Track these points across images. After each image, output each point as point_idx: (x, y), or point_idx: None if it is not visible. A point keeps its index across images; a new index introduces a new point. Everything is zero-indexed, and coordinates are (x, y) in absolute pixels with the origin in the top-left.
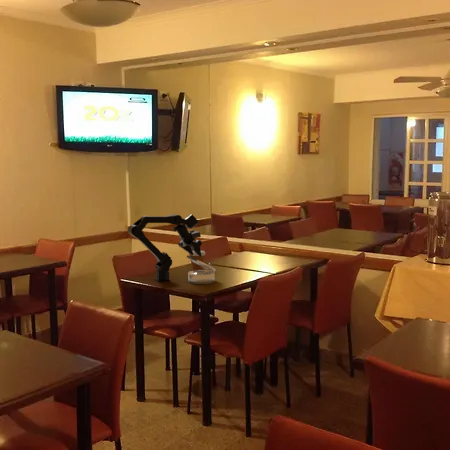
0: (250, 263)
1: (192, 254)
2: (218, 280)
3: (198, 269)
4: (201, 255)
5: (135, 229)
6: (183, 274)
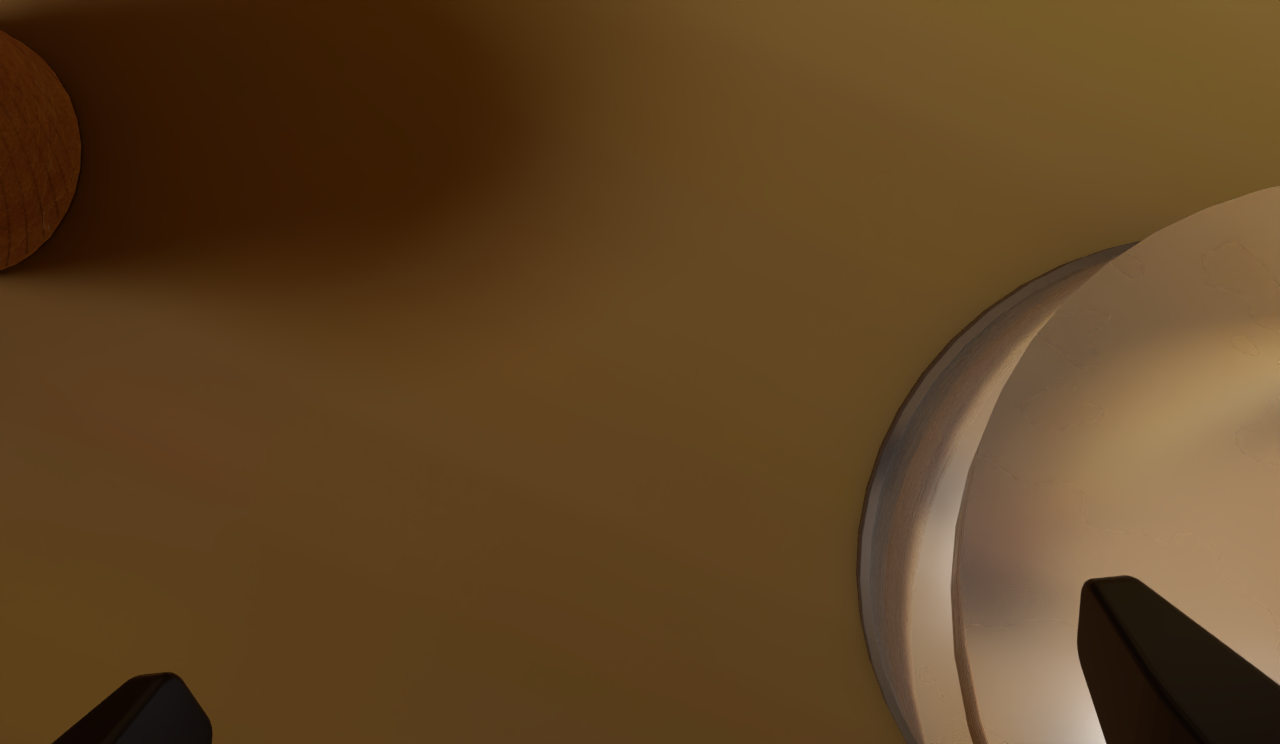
0: None
1: (193, 738)
2: (1277, 139)
3: (47, 177)
4: (1132, 577)
5: None
6: (264, 651)
